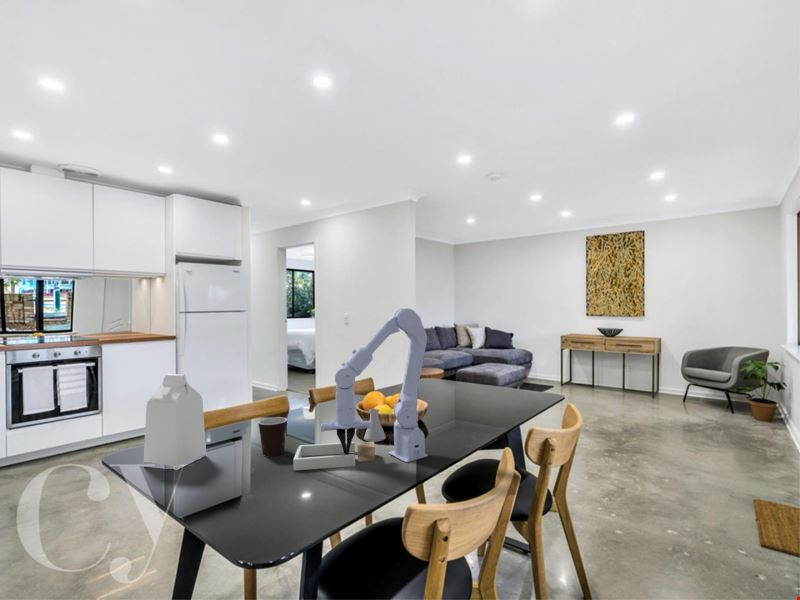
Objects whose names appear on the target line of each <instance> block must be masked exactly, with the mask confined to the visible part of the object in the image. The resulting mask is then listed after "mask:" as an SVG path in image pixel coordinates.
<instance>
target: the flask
mask: <svg viewBox="0 0 800 600" xmlns="http://www.w3.org/2000/svg"><path fill="white" fill-rule="evenodd" d="M368 412H369V420H368V421H370V427H371V429H367V428H366V431H365V433H364V437H363V440H365V442H374V443H377V442H382V441H384V440H385V439H386V438H387V437H386V434H385V432H384V431H385V430H384V429H383V426H382V425H381V424H382V423H381V421H380V416H379V412H380V409H378V408H371V409H369V410H368Z"/></svg>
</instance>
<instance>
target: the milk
mask: <svg viewBox="0 0 800 600" xmlns="http://www.w3.org/2000/svg"><path fill="white" fill-rule="evenodd" d="M203 405H204V403H203V397H202V394H200V393H199V392H198V391H197V390H196V389H195V388H194V387H192V385H190V384H188V380H187V378H186V374H175V373H174V374H171V373H169V374H165V375H164V378H163V381H162V384H161V385H160V386H159V387H158V388H157V390H156V391H155V392H154V393H153V394H152V395H151V396H150V397H149V399H148V401H147V403H146V408H145V427H144V429H145V430H144V445H143V446H144V448H143V463H144V462H152V463H158V464H165V465H169V466H179V465H181V464H183V463H185V462H187V461H190V460H191V459H194V458H196V457H198V456H201V455H203V454H205V453H206V454H207V445H206V434H205V433H206V430H205V417H204V406H203Z"/></svg>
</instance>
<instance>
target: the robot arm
mask: <svg viewBox="0 0 800 600" xmlns="http://www.w3.org/2000/svg"><path fill="white" fill-rule="evenodd" d="M401 330H402V332H404V334H405V335H406V336H407V338H408V339H409V340H410V342H409V348H408V354H407V359H406V363H405V369H404V374H403V379H402V380H403V381H402V386H401V391H400V393H399V394H398V395H399V396H398V399H397V401H396V403H395V404H394V405H393V406H394V407H393V414H394V416H395V417H396V420H394V423H393V443H394V450H391V451H388V453H389V455H391V456H393V457H395V458H397V459H399V460H400V461H403V463H410V462H412V461H416V460H419V459H423V458H427V457H428V454H427V453H426V444H425V443H426V441H425V440H426V439H425V434H424V432H423V431H422V430H421V429H420V428H419V425H418V420H419V414H418V410H417V409H418V408H417V406H418V390H419V386H420V379H421V373H422V368H423V364H424V358H425V352H426V347H427V343H428V342H427V341H428V336H427V333H426V329H425V327H424V325H423V322H422V318H421V317H420V316H419V314H418V313H416V311H415V310H413V309H411V308H400V309H398V310H397V311H395V313H394V314H393V315H391V316H390V317H389V318H388V319H387V320H386V321H384V322H383V324H382V325H381V326H380V327H379V329H378V330H377V331H376V332H375V333H374V335H373V336H372V337H371V339H370V340H369V341H368V342H367V343H366V345H364V346H359V347H357V348H356V349H355V348H354V349H353V350H352V351H351V355H350V356H349V357H348V359H347V360H346V361H343V362H342V363H341V367H340V368H338V369H337V370H336V372H335V375H334V381H335V382H334V383H335V391H336V392H335V393H334V394H335V421H332V422H323V423H321V424H320V432H321V433H323V432H326V431H327V432H329V431H336V435H337V438H338V439H339V441H340V442H339V443H341V444H342V447H343V451H344V453H343V455H349V454H350V453H349V449H350V445H351V442H353V438H354V436H355V434H356V430H360V429H363V430H364V429H366V430H367V429H371V427H370V421H369V420H356V394H355V390H354V384H355V382H356V378H357V377H358V376H360V375H361V374H362V373H363V372H364V371H365V370H366V368H367V367H368V366H369V365H370V364H371V362H372V361H373V360H374V359H373V357H374V356H373V354H374V352H375V351H376V350H377V349H378V348H379V347H380V346H381V345H382V344H383V343H384V342H385V340H387V338H388V337H389V336H391V335H393V334H395V333H399V332H400V331H401ZM346 442H347V448H346Z"/></svg>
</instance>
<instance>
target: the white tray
mask: <svg viewBox="0 0 800 600" xmlns="http://www.w3.org/2000/svg"><path fill="white" fill-rule="evenodd" d="M346 448H347V441H346ZM355 448H356V447H355V441H352V442H351V445H350V449H349V455H344V451H343V447H342V444H341V442H333V443H331V442H330V443H316V444H302V445H301V444H300V445H298V447H297V450H295V451H296V452H295V454H294V457H293V460H292V462H293V471H304V470H305V471H306V470H319V469H321V470H322V469H332V468H344V467H346V468H348V467H356V454H355V453H356V450H355Z"/></svg>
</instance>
